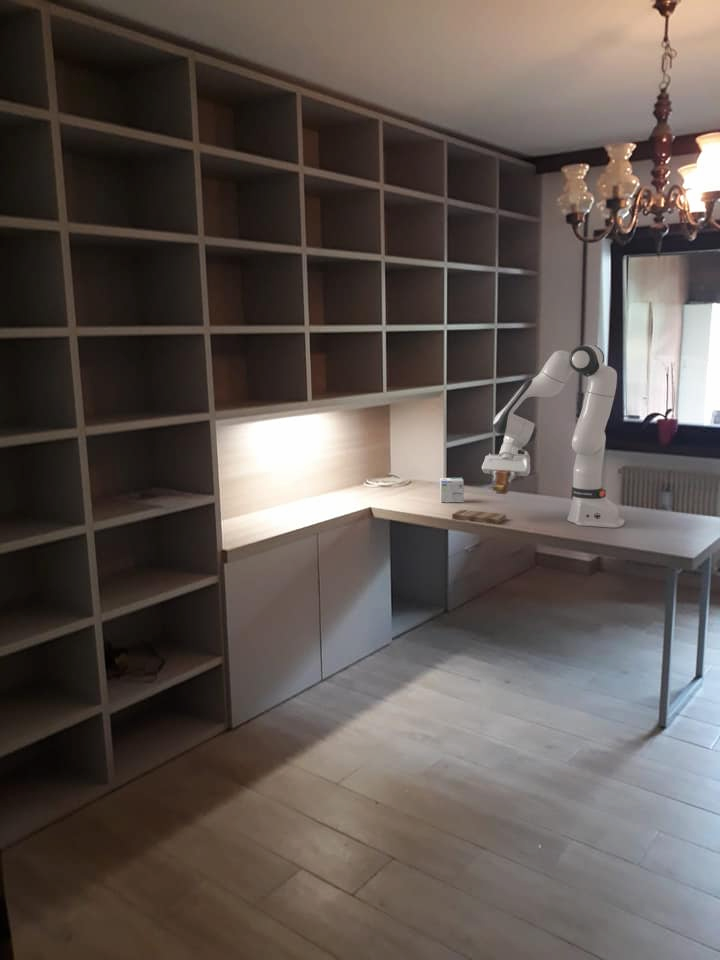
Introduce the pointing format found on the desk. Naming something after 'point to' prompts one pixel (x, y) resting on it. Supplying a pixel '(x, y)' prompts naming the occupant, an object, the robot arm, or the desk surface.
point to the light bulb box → (451, 490)
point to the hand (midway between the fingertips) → (501, 481)
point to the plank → (479, 516)
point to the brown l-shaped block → (501, 482)
